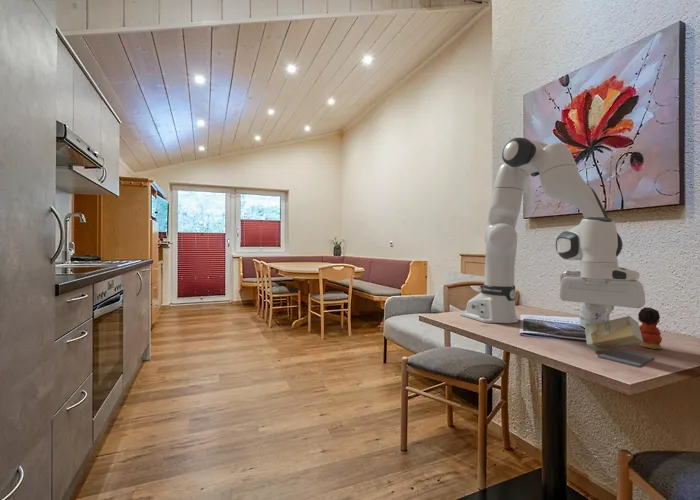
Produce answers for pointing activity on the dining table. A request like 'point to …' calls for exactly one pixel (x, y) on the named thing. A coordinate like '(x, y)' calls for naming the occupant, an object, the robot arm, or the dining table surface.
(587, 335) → the skincare box
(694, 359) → the dining table surface
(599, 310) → the ink box
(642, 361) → the felt mat
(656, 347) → the figurine
